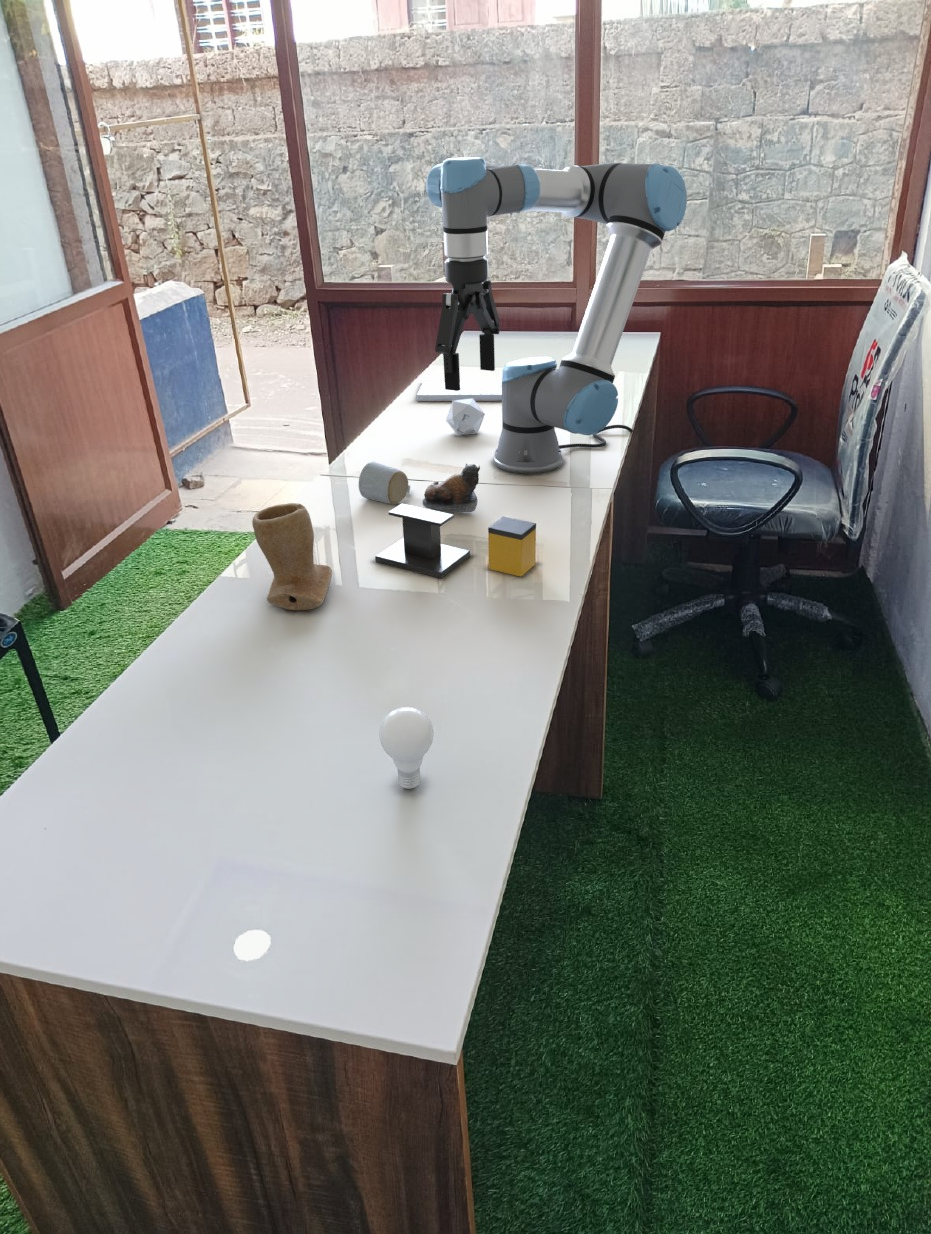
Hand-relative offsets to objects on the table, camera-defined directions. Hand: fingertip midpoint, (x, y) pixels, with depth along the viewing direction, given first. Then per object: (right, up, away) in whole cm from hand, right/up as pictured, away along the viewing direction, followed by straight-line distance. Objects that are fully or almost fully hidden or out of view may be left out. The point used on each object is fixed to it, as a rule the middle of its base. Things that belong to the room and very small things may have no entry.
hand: (470, 379), depth 169 cm
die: (-1, +2, +58) cm, 58 cm away
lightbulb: (-8, -65, -58) cm, 87 cm away
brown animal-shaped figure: (-4, -22, +16) cm, 28 cm away
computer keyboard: (+7, +20, +89) cm, 92 cm away
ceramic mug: (-17, -19, +22) cm, 34 cm away
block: (+7, -35, -7) cm, 36 cm away
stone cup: (-30, -40, -14) cm, 52 cm away
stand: (-9, -33, -3) cm, 35 cm away
